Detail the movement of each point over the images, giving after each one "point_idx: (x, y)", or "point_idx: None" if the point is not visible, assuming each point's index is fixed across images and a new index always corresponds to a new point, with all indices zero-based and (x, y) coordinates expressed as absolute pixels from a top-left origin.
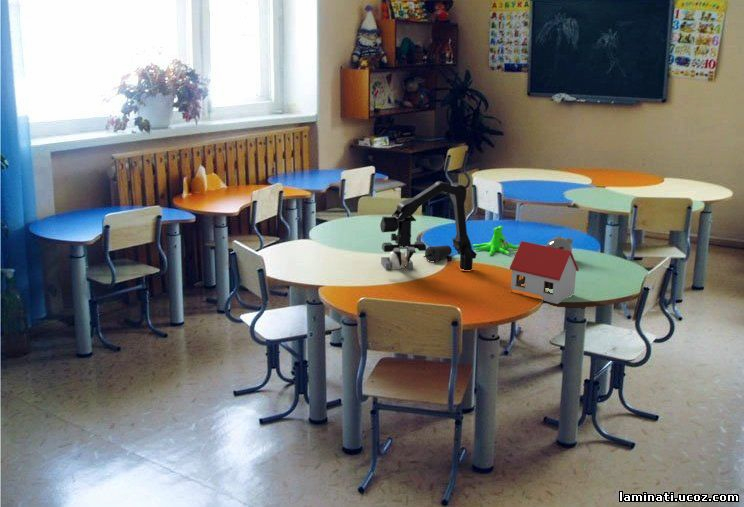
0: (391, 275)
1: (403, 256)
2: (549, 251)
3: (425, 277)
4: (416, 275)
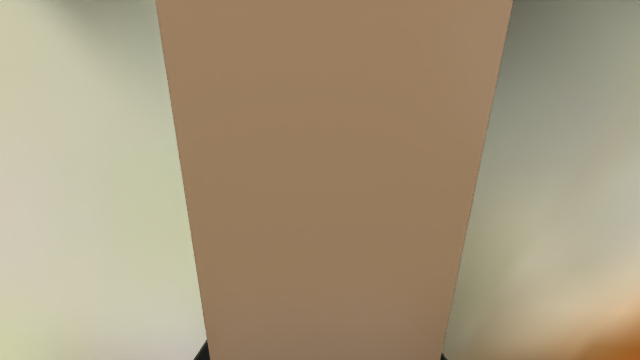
0: (89, 226)
1: (426, 285)
2: None
3: (606, 348)
4: (524, 265)
